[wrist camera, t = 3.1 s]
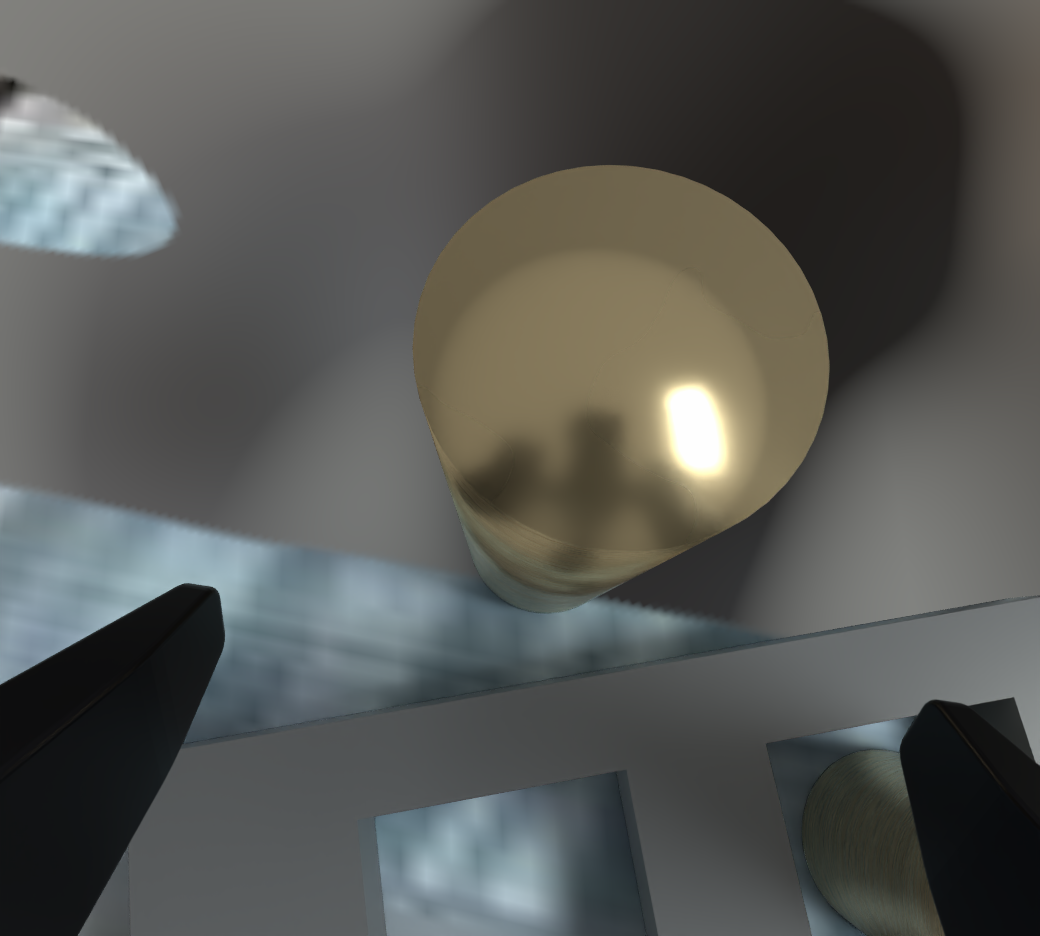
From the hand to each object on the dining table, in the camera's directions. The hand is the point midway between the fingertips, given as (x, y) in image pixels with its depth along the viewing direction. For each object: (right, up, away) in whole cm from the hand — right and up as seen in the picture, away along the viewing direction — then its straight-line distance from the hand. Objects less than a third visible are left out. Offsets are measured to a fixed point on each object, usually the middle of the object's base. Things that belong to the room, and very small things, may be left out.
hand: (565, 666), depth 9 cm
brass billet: (0, +1, +11) cm, 11 cm away
